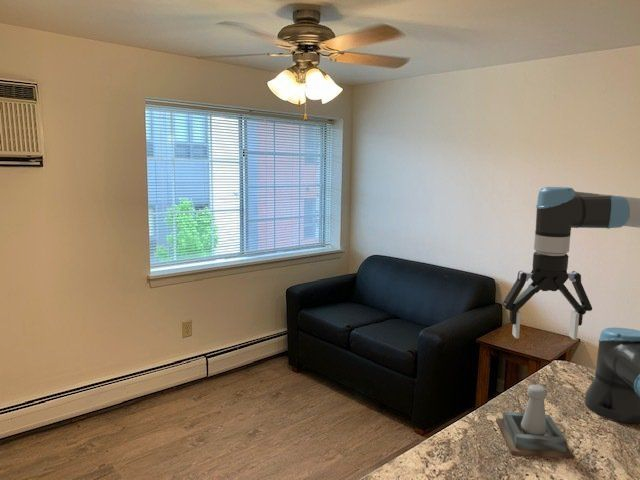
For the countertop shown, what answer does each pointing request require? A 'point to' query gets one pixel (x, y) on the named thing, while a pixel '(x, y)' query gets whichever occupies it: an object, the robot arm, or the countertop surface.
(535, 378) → the countertop surface
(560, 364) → the countertop surface
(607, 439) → the countertop surface
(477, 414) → the countertop surface
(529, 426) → the salt shaker
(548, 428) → the collar socket
